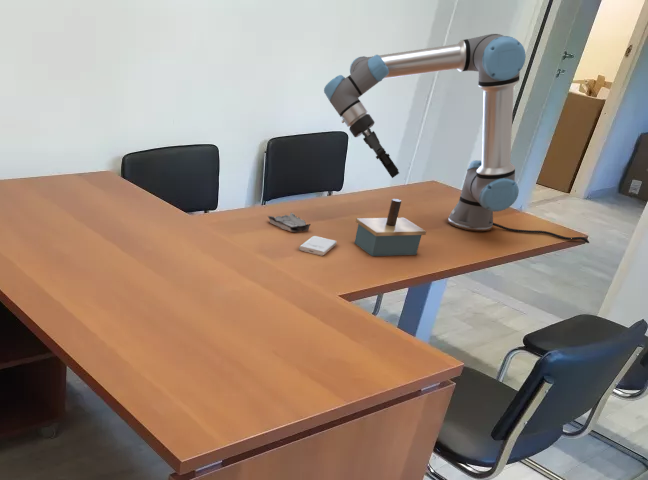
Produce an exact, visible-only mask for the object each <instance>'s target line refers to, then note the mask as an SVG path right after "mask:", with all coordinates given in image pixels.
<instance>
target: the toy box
mask: <svg viewBox="0 0 648 480" xmlns="http://www.w3.org/2000/svg"><path fill="white" fill-rule="evenodd" d="M421 239H422V235H397V236H375V235H374V234H372V233H371V232H369V231H368V230H366V229H365V228H364V227H362V226H361V225H359V224H358V223H357V229H356V233H355V237H354V242H353V243H354V244H355V245H356V246H358V247H359V248H360V249H361V250H363V251H364V252H366V253H367V254H368V255H370V256H371V257H384V256H385V257H388V256H389V257H390V256H416V255H417V254H418V250H419V248H420V243H421Z"/></svg>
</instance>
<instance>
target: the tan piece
mask: <svg viewBox="0 0 648 480" xmlns="http://www.w3.org/2000/svg"><path fill="white" fill-rule="evenodd" d="M401 205H402V200H401V199H399V198H392V199H391V201H390V205H389V209H388V213H387V217H359V218H358V217H357V218H355V223H356V224H357V225H358V224H359V225H361V226H362V227H364V228H365V229H366V230H368V231H369V232H371V233H372V234H374V235H375V236H397V235H421V236H426V234H427V231H426V230H425V229H424V228H423V227H420V226H419V225H417V224H416V223H414V222H412V221H411V220H409V219H407V218H406V217H398V216H399V213H400V209H401Z"/></svg>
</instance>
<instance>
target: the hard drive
mask: <svg viewBox="0 0 648 480" xmlns="http://www.w3.org/2000/svg"><path fill="white" fill-rule="evenodd" d="M337 243H338V242H337V240H335V239H330V238H327V237H326V238H325V237H321V236H318V235H313V236H311V237H310V238H308V239H307V240H306V241H304V242H303V243H302V244H300V245H299V247H298V250H299V251H300V252H305V253H308V254H309V253H310V254H313V255H317V256H321V257H323V256H324V255H326V254H327V253H328V252H329V251H330V250H332V249H333V248H334V247H335V246H336V245H337Z"/></svg>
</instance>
